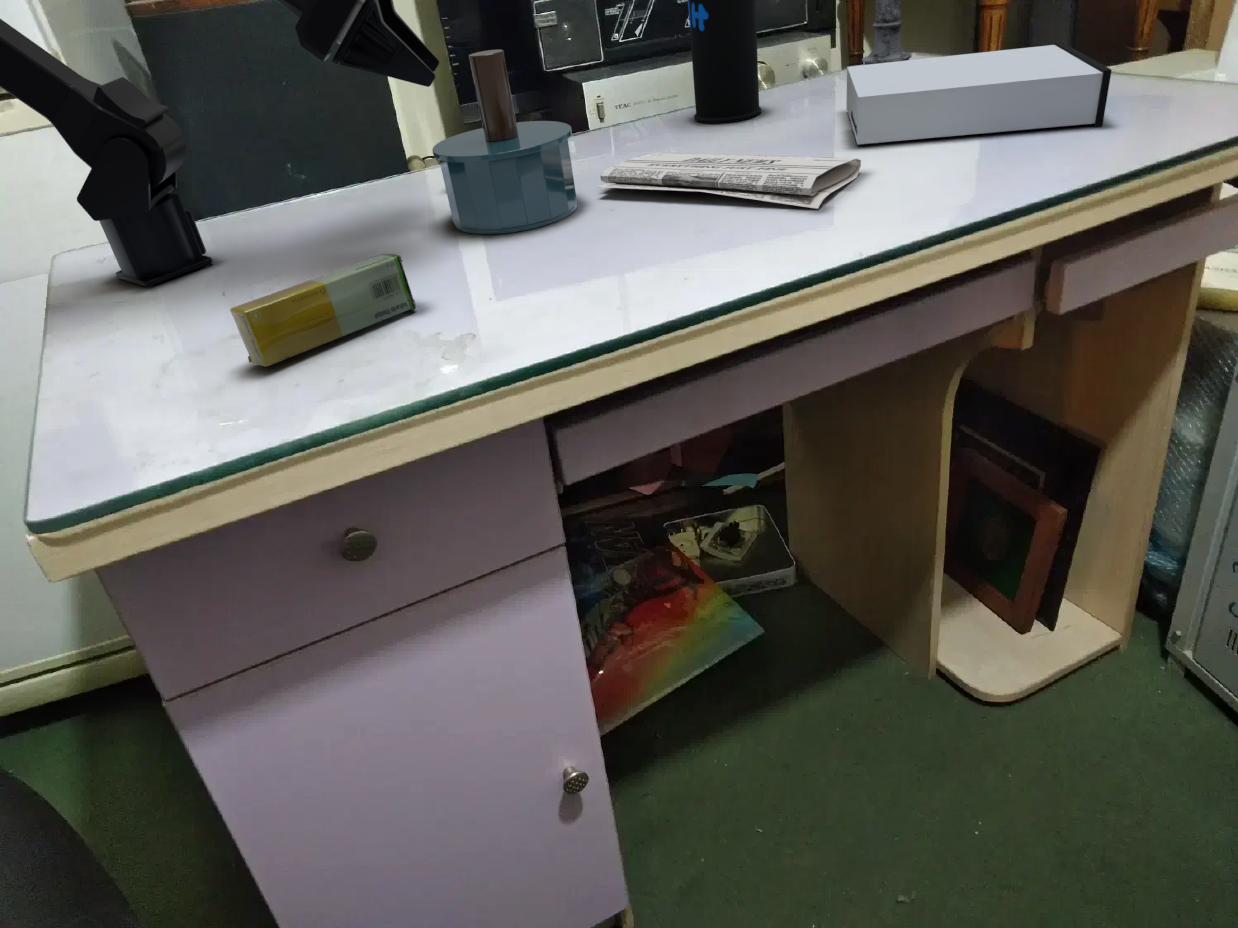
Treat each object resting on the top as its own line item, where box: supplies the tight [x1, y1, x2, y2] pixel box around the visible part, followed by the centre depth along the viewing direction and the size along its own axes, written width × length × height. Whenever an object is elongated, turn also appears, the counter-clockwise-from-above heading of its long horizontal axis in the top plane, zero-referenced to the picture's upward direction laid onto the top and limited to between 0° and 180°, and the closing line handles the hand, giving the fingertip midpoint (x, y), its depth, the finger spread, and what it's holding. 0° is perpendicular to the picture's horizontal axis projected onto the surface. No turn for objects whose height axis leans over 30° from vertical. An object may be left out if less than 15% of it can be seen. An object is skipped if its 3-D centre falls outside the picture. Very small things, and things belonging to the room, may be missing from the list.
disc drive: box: [845, 41, 1113, 146], centre depth 90 cm, size 18×22×5 cm
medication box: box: [229, 253, 417, 367], centre depth 60 cm, size 12×3×4 cm, turn 135°
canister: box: [438, 139, 578, 235], centre depth 80 cm, size 12×12×6 cm
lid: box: [431, 49, 573, 162], centre depth 77 cm, size 13×13×8 cm
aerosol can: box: [687, 0, 762, 124], centre depth 102 cm, size 8×8×20 cm
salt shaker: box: [861, 0, 913, 65], centre depth 106 cm, size 6×6×12 cm
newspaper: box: [597, 152, 862, 210], centre depth 81 cm, size 23×12×2 cm, turn 54°
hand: (435, 74), depth 75 cm, fingers open, 9 cm apart
